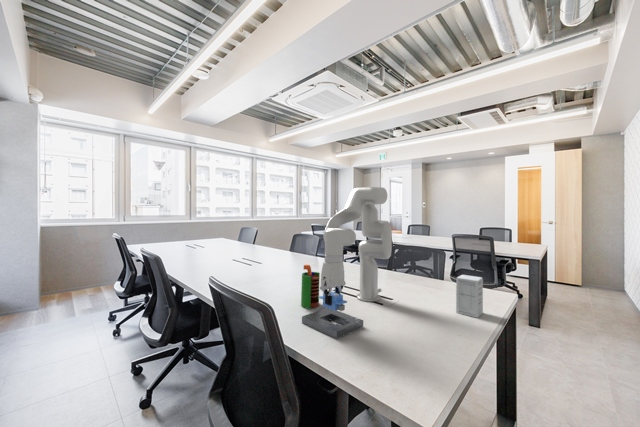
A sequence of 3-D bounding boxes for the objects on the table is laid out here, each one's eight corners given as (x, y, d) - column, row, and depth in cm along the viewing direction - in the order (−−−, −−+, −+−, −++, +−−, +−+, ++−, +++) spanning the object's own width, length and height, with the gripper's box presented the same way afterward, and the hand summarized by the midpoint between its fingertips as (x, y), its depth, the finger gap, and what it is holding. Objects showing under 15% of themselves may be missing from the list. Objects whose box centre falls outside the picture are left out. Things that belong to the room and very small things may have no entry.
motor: (316, 309, 132) (317, 267, 132) (298, 307, 134) (299, 266, 134) (320, 302, 142) (321, 263, 142) (304, 301, 144) (304, 263, 144)
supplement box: (483, 312, 130) (483, 277, 130) (478, 318, 123) (478, 280, 123) (461, 307, 137) (461, 274, 137) (455, 312, 130) (455, 277, 130)
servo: (326, 302, 119) (326, 289, 120) (346, 309, 111) (347, 295, 111) (319, 305, 116) (319, 291, 116) (339, 312, 108) (339, 297, 108)
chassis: (328, 313, 127) (328, 307, 127) (363, 326, 113) (363, 320, 113) (301, 322, 116) (302, 316, 116) (336, 339, 102) (336, 331, 102)
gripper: (340, 256, 122) (339, 297, 122) (312, 259, 111) (311, 305, 111) (353, 258, 117) (352, 301, 117) (325, 262, 105) (324, 310, 105)
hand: (332, 302), depth 114 cm, fingers closed on servo, 4 cm apart
